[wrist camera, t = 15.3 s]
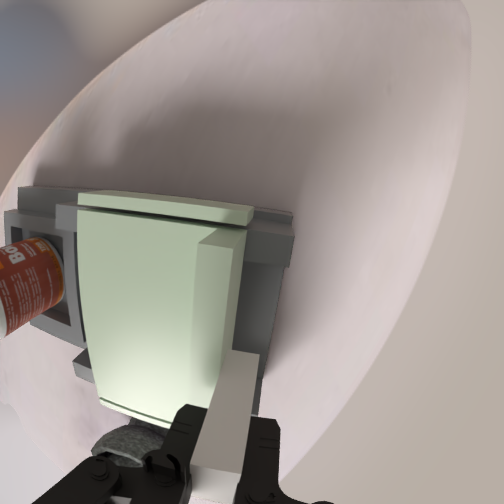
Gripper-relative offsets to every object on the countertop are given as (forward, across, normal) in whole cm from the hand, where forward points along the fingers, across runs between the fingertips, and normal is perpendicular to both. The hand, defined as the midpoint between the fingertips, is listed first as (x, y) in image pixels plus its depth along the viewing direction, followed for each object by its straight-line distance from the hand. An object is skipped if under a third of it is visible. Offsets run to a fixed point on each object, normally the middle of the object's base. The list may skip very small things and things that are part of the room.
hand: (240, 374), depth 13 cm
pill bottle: (+6, -18, 0) cm, 19 cm away
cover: (+4, -5, 0) cm, 7 cm away
